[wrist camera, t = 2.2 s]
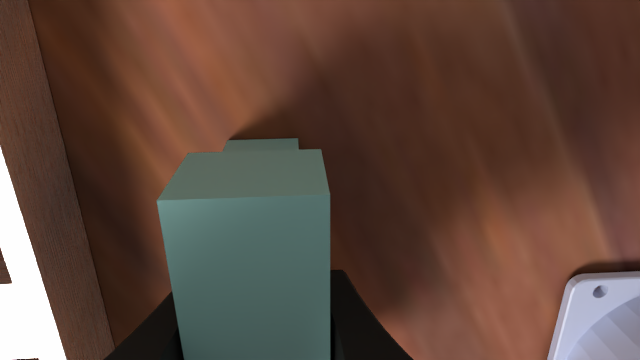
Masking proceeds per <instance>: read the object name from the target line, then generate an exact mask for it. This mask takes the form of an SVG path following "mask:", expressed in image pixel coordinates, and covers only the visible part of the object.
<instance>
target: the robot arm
mask: <svg viewBox="0 0 640 360" xmlns="http://www.w3.org/2000/svg"><path fill="white" fill-rule="evenodd" d="M598 286H599V287H598ZM596 287H598V288H597V289H596V290H594V289H595V288H596ZM103 360H184V356H183V350H182V345H181V339H180V333H179V327H178V321H177V316H176V310H175V304H174V298H173V292H171V293H170V294H169V295H168V296H167V297H166V298H165V299H164V300H163V301H162V302H161V304H160V305H159V306H158V307H157V308H156V309H155V310H154V311H153V312H152V313H151V314H150V315H149V316H148V317H147V318H146V319H145V320H144V321H143V322H142V323H141V325H140V326H139V327H138V328H137V329H136V330H135V331H134V332H133V333H132V334H131V335H129V336H128V337H127V338H126V339H125V340H124V341H123V342H122V343H121V344H120V345H119V346H118V347H117V348H116V349H115V350H113V351H112V352H111V353H110V354H109V355H108V356H107V357H106V358H105V359H103ZM330 360H413V359H412V358H411V357H410V356H409V355H408V354H407V353H406V352H405V351H404V350H403V349H402V348H401V346H400V345H399V344H398V343H397V342H396V341H395V340H394V339H393V338H392V337H391V335H390V334H389V333H388V332H387V331H386V330H385V328H384V327H383V326H382V325H381V324H380V322H379V321H378V320H377V319H376V317H375V316H374V315H373V313H372V312H371V311H370V309H369V308H368V307H367V305H366V304H365V303H364V301H363V300H362V298H361V297H360V295H359V294H358V292H357V291H356V289H355V288H354V286H353V284H352V283H351V281H350V279H349V277H348V276H347V274H346V272H344V271H343V270H330ZM547 360H640V271H632V272H611V273H589V274H580V275H576V276H574V277H573V278H571V279H570V280H569V281H568V283H567V285H566V287H565V291H564V295H563V299H562V303H561V307H560V311H559V315H558V319H557V323H556V327H555V331H554V335H553V339H552V342H551V346H550V350H549V354H548V358H547Z"/></svg>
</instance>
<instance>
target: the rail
mask: <svg viewBox="0 0 640 360" xmlns="http://www.w3.org/2000/svg"><path fill="white" fill-rule="evenodd" d="M113 350H115V347H114V343H113V339H112V335H111V331H110V327H109V323H108V319H107V315H106V311H105V307H104V303H103V299H102V295H101V291H100V287H99V283H98V279H97V275H96V271H95V267H94V263H93V259H92V255H91V251H90V247H89V243H88V239H87V235H86V231H85V227H84V223H83V219H82V215H81V211H80V207H79V203H78V199H77V195H76V191H75V187H74V183H73V179H72V175H71V171H70V167H69V163H68V159H67V155H66V151H65V147H64V143H63V139H62V135H61V131H60V127H59V123H58V119H57V115H56V111H55V107H54V103H53V99H52V95H51V91H50V87H49V83H48V79H47V75H46V71H45V67H44V63H43V59H42V55H41V51H40V47H39V43H38V39H37V35H36V31H35V27H34V24H33V20H32V16H31V12H30V8H29V4H28V0H0V360H5V359H24V358H39V360H103V359H105V358H106V357H107V356H108V355H109V354H110V353H111V352H112V351H113Z"/></svg>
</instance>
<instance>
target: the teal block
mask: <svg viewBox="0 0 640 360" xmlns="http://www.w3.org/2000/svg"><path fill="white" fill-rule="evenodd" d="M157 206H158V211H159V217H160V223H161V229H162V235H163V240H164V246H165V252H166V258H167V264H168V269H169V275H170V281H171V287H172V292H173V298H174V304H175V310H176V316H177V321H178V327H179V333H180V339H181V345H182V350H183V356H184V360H330V192H329V187H328V182H327V177H326V172H325V167H324V162H323V157H322V152H321V149H306V150H299V146H298V138H286V139H251V140H227V142H226V145H225V147H224V149H223V151H222V152H203V153H188V154H187V156H186V157H185V159H184V160H183V162H182V163H181V165H180V166H179V168H178V169H177V171H176V172H175V174H174V175H173V177H172V178H171V180H170V181H169V183H168V184H167V186H166V187H165V189H164V190H163V192H162V193H161V195H160V196H159V198H158V199H157Z"/></svg>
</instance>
